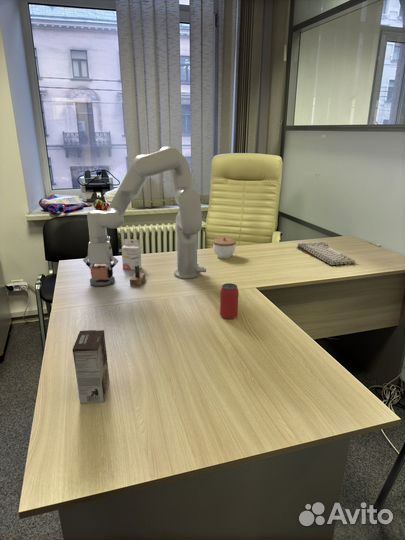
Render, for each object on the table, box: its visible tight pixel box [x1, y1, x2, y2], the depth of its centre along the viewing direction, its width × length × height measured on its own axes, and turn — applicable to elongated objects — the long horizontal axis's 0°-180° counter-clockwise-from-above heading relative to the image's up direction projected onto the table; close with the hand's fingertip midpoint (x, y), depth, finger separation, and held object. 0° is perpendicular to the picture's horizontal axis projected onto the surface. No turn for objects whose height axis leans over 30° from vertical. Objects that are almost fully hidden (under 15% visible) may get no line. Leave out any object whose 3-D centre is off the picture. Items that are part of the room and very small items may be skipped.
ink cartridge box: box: [121, 238, 142, 271], centre depth 185 cm, size 9×5×15 cm, turn 84°
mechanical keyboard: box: [296, 241, 356, 267], centre depth 209 cm, size 38×19×3 cm, turn 16°
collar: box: [90, 264, 108, 280], centre depth 168 cm, size 7×7×4 cm
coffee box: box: [72, 329, 110, 404], centre depth 95 cm, size 9×6×16 cm
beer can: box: [219, 282, 239, 320], centre depth 137 cm, size 7×7×12 cm
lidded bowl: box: [212, 236, 237, 259], centre depth 204 cm, size 13×13×11 cm
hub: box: [89, 268, 116, 288], centre depth 169 cm, size 11×11×7 cm
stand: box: [129, 265, 146, 287], centre depth 168 cm, size 5×9×8 cm, turn 173°
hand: (102, 276), depth 169 cm, fingers closed on collar, 7 cm apart
